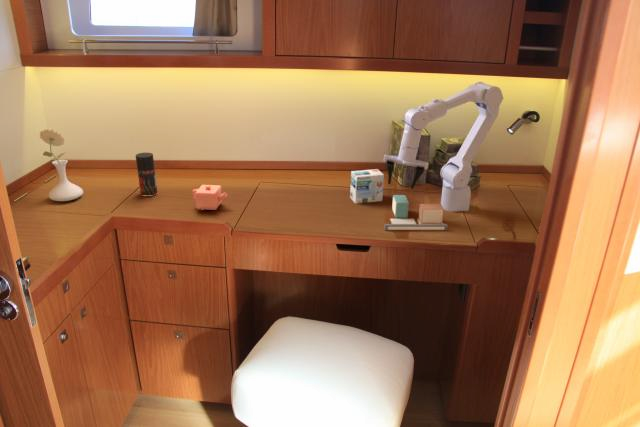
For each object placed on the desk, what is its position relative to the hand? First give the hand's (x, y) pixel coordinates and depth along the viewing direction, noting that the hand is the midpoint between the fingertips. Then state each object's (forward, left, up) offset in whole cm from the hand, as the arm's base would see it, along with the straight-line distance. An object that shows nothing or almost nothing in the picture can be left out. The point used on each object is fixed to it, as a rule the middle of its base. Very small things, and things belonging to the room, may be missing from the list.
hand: (400, 185), depth 172 cm
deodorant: (+90, -19, -11) cm, 92 cm away
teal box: (0, 0, -10) cm, 10 cm away
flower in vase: (+119, -15, -11) cm, 120 cm away
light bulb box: (+10, -13, -11) cm, 20 cm away
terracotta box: (-9, +7, -10) cm, 15 cm away
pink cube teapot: (+65, -6, -11) cm, 66 cm away
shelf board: (-3, +5, -11) cm, 12 cm away
